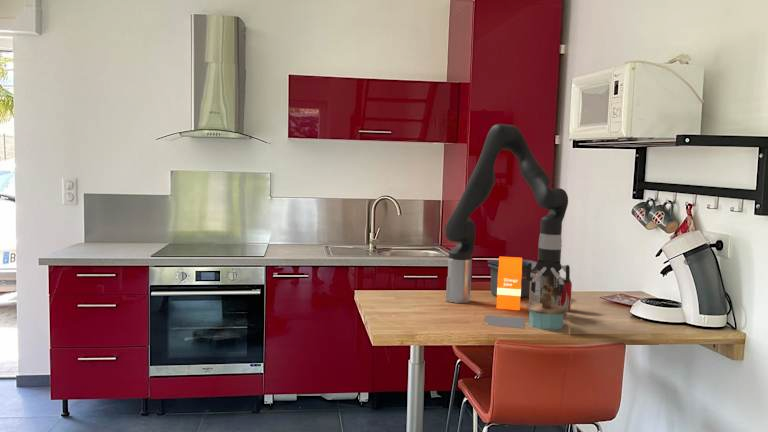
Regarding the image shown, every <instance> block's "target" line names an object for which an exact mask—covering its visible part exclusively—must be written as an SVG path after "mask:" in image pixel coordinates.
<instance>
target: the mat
mask: <svg viewBox="0 0 768 432" xmlns="http://www.w3.org/2000/svg"><path fill="white" fill-rule="evenodd" d="M483 321H484V322H485V321H486V322H487V323H488V325H487V326H490V325H491V326H492V327H503V328H504V327H505V328H515V329H525V325H526V318H523V317H515V316H514V317H513V316H500V315H491V314H490V315H489V314H485V317H484V319H483ZM486 322H485V323H486Z"/></svg>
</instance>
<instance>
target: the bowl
mask: <svg viewBox="0 0 768 432" xmlns="http://www.w3.org/2000/svg"><path fill="white" fill-rule="evenodd" d="M528 312H529V311H528ZM528 315H529V316H528V325H529V326H531V327H532V328H535V329H539V330H548V331H550V330H551V331H552V330H553V331H554V330H556V331H557V330H560V329H563V326H564V313H563V314H541V313H536V312H532V311H530V312H529V314H528Z"/></svg>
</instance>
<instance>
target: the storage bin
mask: <svg viewBox="0 0 768 432" xmlns="http://www.w3.org/2000/svg"><path fill="white" fill-rule="evenodd" d="M529 262H531V263H537V261H534V260H530V259H522V275H521V296H520V298H527V297H528V298H529V291H530V281H529V280H527V279H526V278H527V269H528V263H529ZM487 263H488V264H487V267H489V268H490V291H491V292H490V293H491V295H494V296H496V297H497V285H498V268H499V259H498V260H497V259H495V260H494V259H493V260H492V259H491V260H490V259H489V260H487ZM531 271H538V269H537V268H536V266H535V267H534V269H531Z"/></svg>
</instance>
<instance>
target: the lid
mask: <svg viewBox="0 0 768 432" xmlns="http://www.w3.org/2000/svg"><path fill="white" fill-rule="evenodd" d="M526 310H528V312H529V311H532V312H536V313H541V314H563V315H564V314H565V313H566V312H567V311H566V308H565V307H563V306H560V305H555V304H551V292H543V302H542V303H533V304H529V303H528V304H527V305H526Z"/></svg>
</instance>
